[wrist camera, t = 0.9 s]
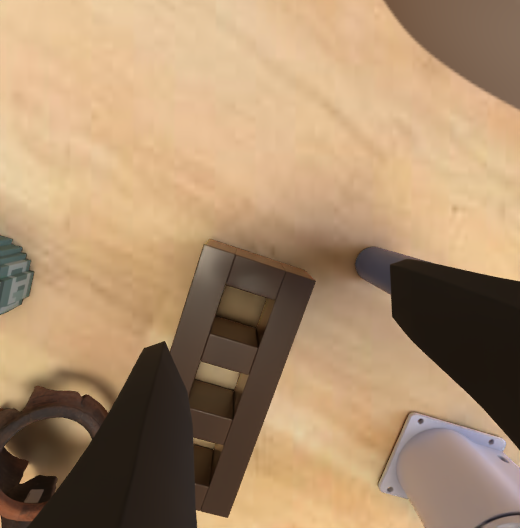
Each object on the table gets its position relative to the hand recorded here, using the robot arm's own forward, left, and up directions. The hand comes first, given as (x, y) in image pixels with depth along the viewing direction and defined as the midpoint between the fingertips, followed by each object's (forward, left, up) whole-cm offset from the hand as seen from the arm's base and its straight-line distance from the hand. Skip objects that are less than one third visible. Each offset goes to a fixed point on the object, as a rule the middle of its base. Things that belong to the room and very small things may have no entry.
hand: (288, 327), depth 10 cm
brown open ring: (+11, +20, -17) cm, 28 cm away
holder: (0, +10, -17) cm, 19 cm away
